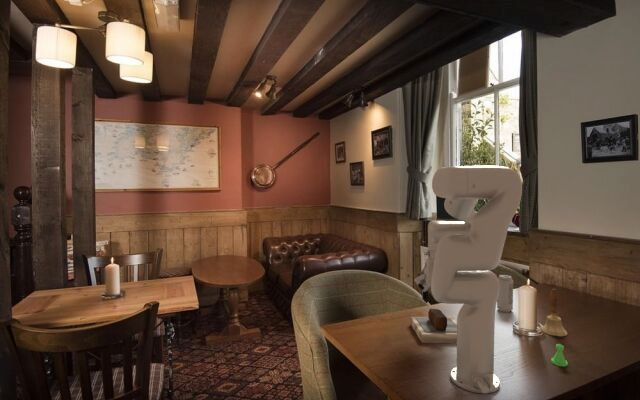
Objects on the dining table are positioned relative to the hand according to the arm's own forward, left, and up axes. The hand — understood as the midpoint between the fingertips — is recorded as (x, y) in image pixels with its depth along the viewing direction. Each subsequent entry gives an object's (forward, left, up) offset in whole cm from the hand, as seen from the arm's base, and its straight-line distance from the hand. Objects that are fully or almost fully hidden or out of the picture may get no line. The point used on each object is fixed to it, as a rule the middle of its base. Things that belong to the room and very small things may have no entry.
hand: (438, 301), depth 131 cm
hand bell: (+2, -43, -12) cm, 45 cm away
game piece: (-21, -30, -12) cm, 39 cm away
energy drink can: (+24, -36, -12) cm, 45 cm away
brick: (0, 0, -9) cm, 9 cm away
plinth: (+1, 0, -12) cm, 12 cm away
